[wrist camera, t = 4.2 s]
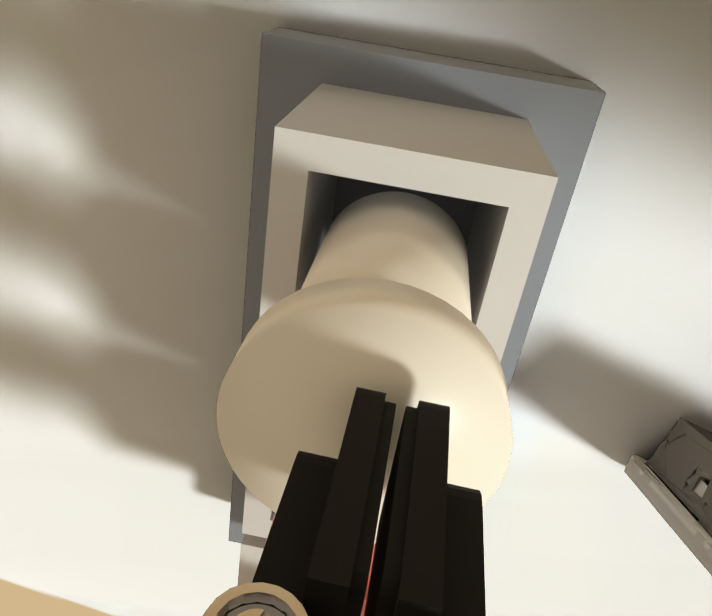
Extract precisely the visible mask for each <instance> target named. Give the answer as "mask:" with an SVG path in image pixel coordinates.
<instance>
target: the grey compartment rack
mask: <svg viewBox="0 0 712 616" xmlns="http://www.w3.org/2000/svg"><path fill="white" fill-rule="evenodd" d="M605 94H606V93H605V92H604V91H603V90H602V89H600V88H599V87H598V86H596V85H595V84H594V83H593V82H591V81H586V80H580V79H574V78H569V77H563V76H557V75H551V74H545V73H540V72H534V71H528V70H522V69H517V68H511V67H505V66H499V65H494V64H488V63H482V62H476V61H471V60H465V59H459V58H453V57H448V56H442V55H436V54H430V53H424V52H419V51H413V50H407V49H401V48H396V47H390V46H384V45H378V44H373V43H367V42H361V41H355V40H350V39H344V38H338V37H332V36H326V35H321V34H315V33H309V32H303V31H298V30H292V29H286V28H280V27H278V28H276V29H273V30H270V31H267V32H264V33H262V42H261V57H260V73H259V88H258V103H257V118H256V133H255V148H254V163H253V179H252V194H251V209H250V224H249V239H248V254H247V269H246V285H245V300H244V315H243V330H242V343H243V341H244V340H245V338H246V336H247V334H248V332H249V331H250V330H251V328H252V327H253V326H254V324H255V323H256V321H257V320H258V319H259V318H260V317H261V316H262V315H263V314H264V313H265V312H266V311H267V310H268V309H269V308H271V307H272V306H273V305H275V304H276V303H277V302H279V301H280V300H281V299H283V298H285V297H287V296H288V295H290V294H292V293H294V292H296V291H298V290H301V288H302V285H303V283H304V281H305V279H306V277H307V275H308V272H309V270H310V268H311V266H312V264H313V262H314V259H315V257H316V255H317V253H318V251H319V249H320V246H321V244H322V242H323V240H324V238H325V236H326V233H327V231H328V229H329V228H330V226H331V224H332V222H333V221H334V220H335V218H336V217H337V216H338V215H339V214H340V213H341V212H342V211H343V210H344V209H345V208H346V207H347V206H349V205H350V204H351V203H353V202H355V201H357V200H358V199H361V198H363V197H365V196H368V195H371V194H375V193H380V192H392V191H398V192H406V193H411V194H415V195H418V196H421V197H423V198H426V199H428V200H430V201H431V202H433V203H435V204H436V205H438V206H439V207H441V208H442V209H443V210H444V211H445V212H446V213H447V214H448V215H450V217H451V218H452V219H453V220H454V222H455V223H456V224H457V226H458V228H459V229H460V231H461V233H462V236H463V238H464V241H465V244H466V248H467V257H468V271H469V287H470V303H471V318H472V322H473V323H474V324H475V325H476V326H477V327H478V329H479V330H480V331H481V332H482V333H483V335H484V336H485V337H486V338H487V340H488V341H489V343H490V344H491V346H492V348H493V349H494V351H495V353H496V355H497V357H498V359H499V362H500V364H501V366H502V369H503V373H504V377H505V381H506V386H507V392H508V389H509V386H510V383H511V380H512V377H513V374H514V371H515V368H516V365H517V362H518V359H519V356H520V353H521V350H522V347H523V344H524V341H525V337H526V334H527V331H528V328H529V325H530V322H531V319H532V316H533V313H534V310H535V307H536V304H537V301H538V298H539V295H540V292H541V289H542V286H543V283H544V280H545V277H546V274H547V271H548V268H549V265H550V262H551V259H552V255H553V252H554V249H555V246H556V243H557V240H558V237H559V234H560V231H561V228H562V225H563V222H564V219H565V216H566V213H567V210H568V207H569V204H570V201H571V198H572V195H573V192H574V189H575V186H576V183H577V180H578V176H579V173H580V170H581V167H582V164H583V161H584V158H585V155H586V152H587V149H588V146H589V143H590V140H591V137H592V134H593V131H594V128H595V125H596V122H597V119H598V116H599V113H600V110H601V107H602V104H603V101H604V98H605ZM274 515H275V512H274V511H272V510H271V509H269V508H268V507H267V506H265V505H264V504H263V503H262V502H261V501H259V500H258V499H257V498H256V497H255V496H254V495H253V494H252V493H251V492H250V491H249V490H248V489H247V488H246V486H245V485H244V484H243V483H242V482H241V481H240V479H239V478H238V476H237V475H236V474H235V472H234V471H233V481H232V496H231V512H230V527H229V541H233V542H238V543H241V552H240V564H239V576H238V586H239V585H242V584H245V583H252V581H253V578H254V575H255V572H256V569H257V566H258V564H259V561H260V558H261V555H262V552H263V549H264V546H265V543H266V540H267V537H268V534H269V530H270V527H271V524H272V521H273V518H274Z"/></svg>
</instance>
